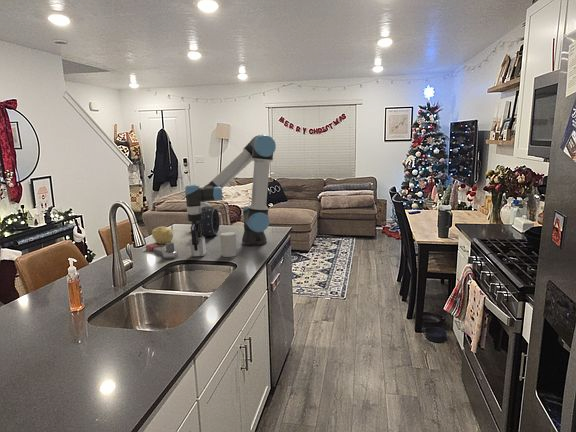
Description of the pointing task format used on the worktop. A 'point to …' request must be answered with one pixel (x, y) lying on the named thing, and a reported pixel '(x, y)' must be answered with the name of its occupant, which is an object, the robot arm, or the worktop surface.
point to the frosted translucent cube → (201, 246)
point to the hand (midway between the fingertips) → (198, 253)
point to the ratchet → (164, 250)
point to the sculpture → (162, 235)
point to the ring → (209, 221)
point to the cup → (228, 244)
